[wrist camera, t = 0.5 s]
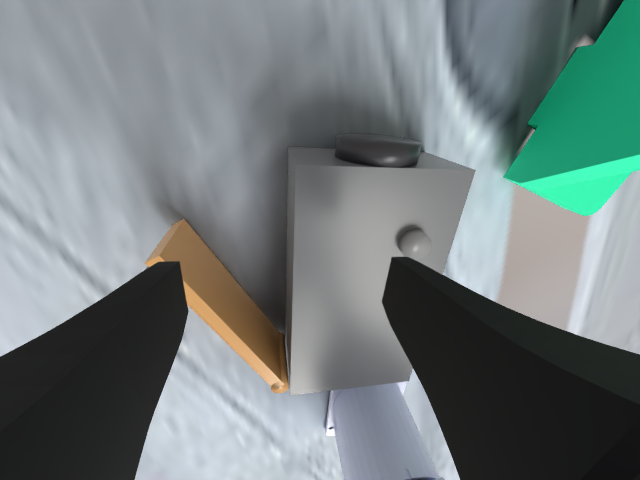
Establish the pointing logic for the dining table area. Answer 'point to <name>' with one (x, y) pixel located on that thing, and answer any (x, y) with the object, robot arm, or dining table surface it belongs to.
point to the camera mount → (588, 122)
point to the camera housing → (360, 252)
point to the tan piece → (225, 304)
